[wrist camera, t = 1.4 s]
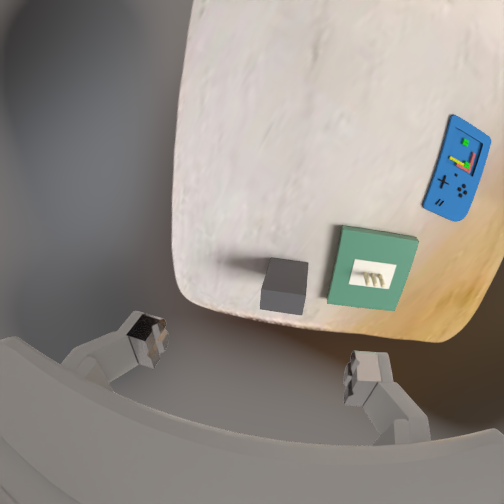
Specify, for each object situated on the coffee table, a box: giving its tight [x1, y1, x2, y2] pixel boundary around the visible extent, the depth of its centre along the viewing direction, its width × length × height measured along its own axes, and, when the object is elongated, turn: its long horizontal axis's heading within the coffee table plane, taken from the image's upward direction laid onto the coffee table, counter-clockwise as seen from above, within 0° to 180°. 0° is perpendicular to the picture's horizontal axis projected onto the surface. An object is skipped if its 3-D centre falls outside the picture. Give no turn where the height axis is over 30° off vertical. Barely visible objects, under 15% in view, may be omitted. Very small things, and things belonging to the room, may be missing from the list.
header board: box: [327, 225, 419, 311], centre depth 38 cm, size 13×12×4 cm
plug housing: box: [260, 258, 308, 315], centre depth 39 cm, size 3×6×8 cm, turn 88°
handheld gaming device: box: [423, 115, 491, 221], centre depth 30 cm, size 8×1×15 cm
